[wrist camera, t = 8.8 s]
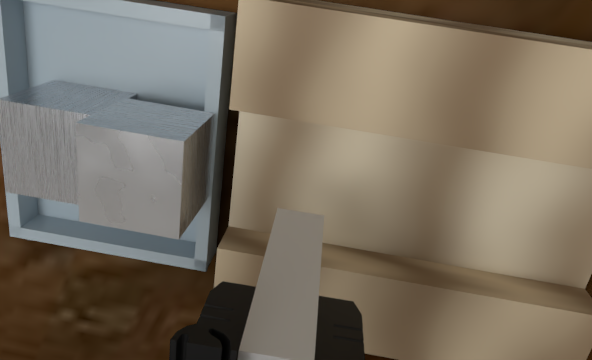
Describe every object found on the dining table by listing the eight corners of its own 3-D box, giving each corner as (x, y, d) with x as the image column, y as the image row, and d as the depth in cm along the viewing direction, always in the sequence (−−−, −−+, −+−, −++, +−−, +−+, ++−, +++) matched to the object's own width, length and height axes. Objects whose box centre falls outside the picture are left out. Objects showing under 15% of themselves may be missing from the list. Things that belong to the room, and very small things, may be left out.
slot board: (233, 270, 27) (210, 324, 22) (261, -8, 21) (238, -4, 17) (536, 325, 26) (571, 391, 22) (647, 50, 20) (722, 69, 16)
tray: (33, 218, 27) (10, 236, 25) (15, -22, 22) (-16, -21, 20) (216, 250, 26) (205, 271, 24) (236, 13, 22) (225, 16, 20)
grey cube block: (136, 173, 24) (57, 159, 25) (137, 93, 23) (53, 79, 23) (97, 208, 21) (5, 192, 21) (95, 115, 19) (-4, 99, 19)
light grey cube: (124, 182, 23) (79, 221, 19) (124, 97, 22) (75, 122, 18) (208, 197, 23) (178, 239, 19) (214, 113, 21) (183, 141, 18)
